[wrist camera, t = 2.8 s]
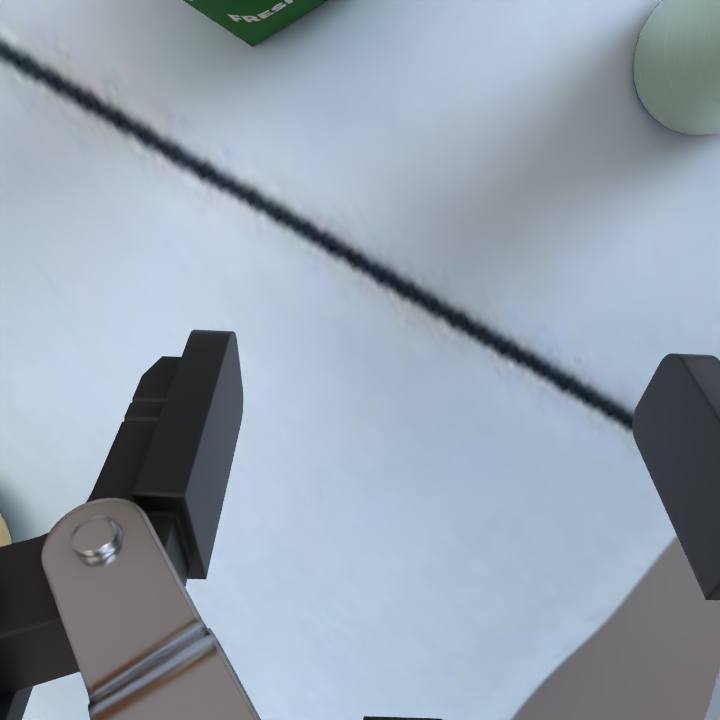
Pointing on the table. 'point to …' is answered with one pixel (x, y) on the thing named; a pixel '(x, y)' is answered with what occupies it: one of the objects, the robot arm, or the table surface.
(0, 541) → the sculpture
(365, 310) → the table surface
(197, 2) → the milk carton
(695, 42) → the drink can
